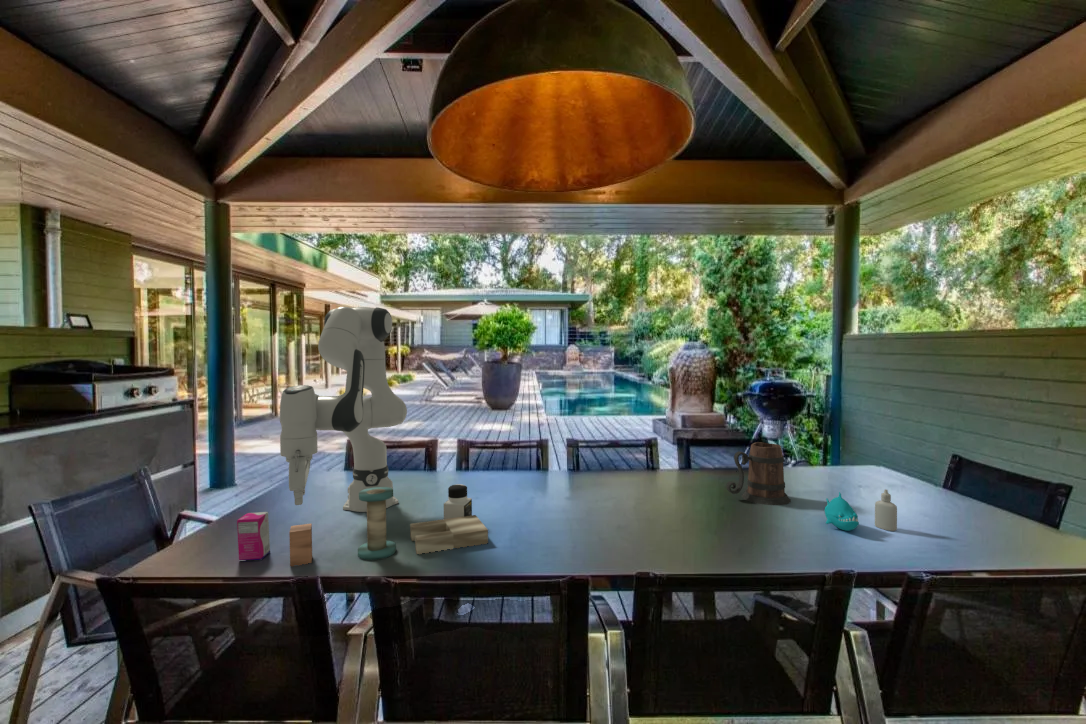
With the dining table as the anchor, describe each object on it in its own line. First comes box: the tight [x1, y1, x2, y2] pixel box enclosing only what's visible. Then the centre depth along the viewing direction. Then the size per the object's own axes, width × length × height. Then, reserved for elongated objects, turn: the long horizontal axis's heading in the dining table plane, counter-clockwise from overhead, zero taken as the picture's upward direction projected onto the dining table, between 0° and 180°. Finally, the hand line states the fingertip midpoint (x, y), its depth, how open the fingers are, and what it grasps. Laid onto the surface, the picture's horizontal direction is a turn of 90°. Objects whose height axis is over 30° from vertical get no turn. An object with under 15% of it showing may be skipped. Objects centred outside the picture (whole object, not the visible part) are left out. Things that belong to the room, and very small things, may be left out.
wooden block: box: [288, 523, 313, 567], centre depth 132 cm, size 5×5×9 cm
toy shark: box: [824, 491, 860, 532], centre depth 156 cm, size 10×18×11 cm, turn 174°
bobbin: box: [357, 487, 397, 561], centre depth 138 cm, size 10×10×17 cm
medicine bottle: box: [443, 483, 473, 519], centre depth 162 cm, size 7×7×12 cm
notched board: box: [409, 514, 489, 555], centre depth 146 cm, size 14×20×4 cm
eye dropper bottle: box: [874, 488, 898, 532], centre depth 153 cm, size 4×6×12 cm
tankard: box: [725, 441, 792, 506], centre depth 185 cm, size 24×17×20 cm
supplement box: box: [236, 511, 271, 561], centre depth 135 cm, size 6×6×12 cm
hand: (300, 499), depth 132 cm, fingers open, 8 cm apart
